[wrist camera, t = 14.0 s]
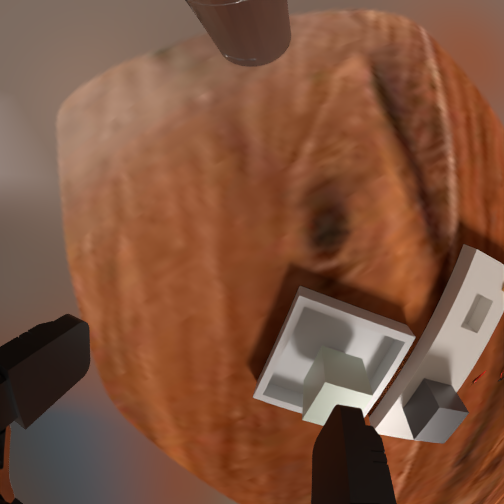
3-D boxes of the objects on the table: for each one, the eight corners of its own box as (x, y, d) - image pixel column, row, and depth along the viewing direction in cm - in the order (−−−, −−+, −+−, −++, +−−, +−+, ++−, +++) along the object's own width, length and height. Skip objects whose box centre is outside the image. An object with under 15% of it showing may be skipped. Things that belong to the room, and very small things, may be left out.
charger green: (321, 336, 36) (325, 382, 26) (359, 348, 35) (373, 395, 26) (303, 369, 37) (302, 419, 28) (340, 381, 37) (347, 431, 27)
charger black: (418, 368, 34) (439, 407, 26) (445, 376, 34) (468, 412, 25) (398, 398, 36) (413, 439, 27) (425, 404, 35) (443, 443, 26)
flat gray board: (463, 244, 31) (479, 250, 27) (505, 267, 31) (521, 275, 27) (368, 417, 38) (372, 435, 34) (413, 426, 37) (420, 443, 33)
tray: (299, 285, 36) (299, 295, 32) (407, 325, 34) (415, 337, 31) (256, 382, 39) (252, 397, 36) (353, 411, 38) (356, 427, 35)
